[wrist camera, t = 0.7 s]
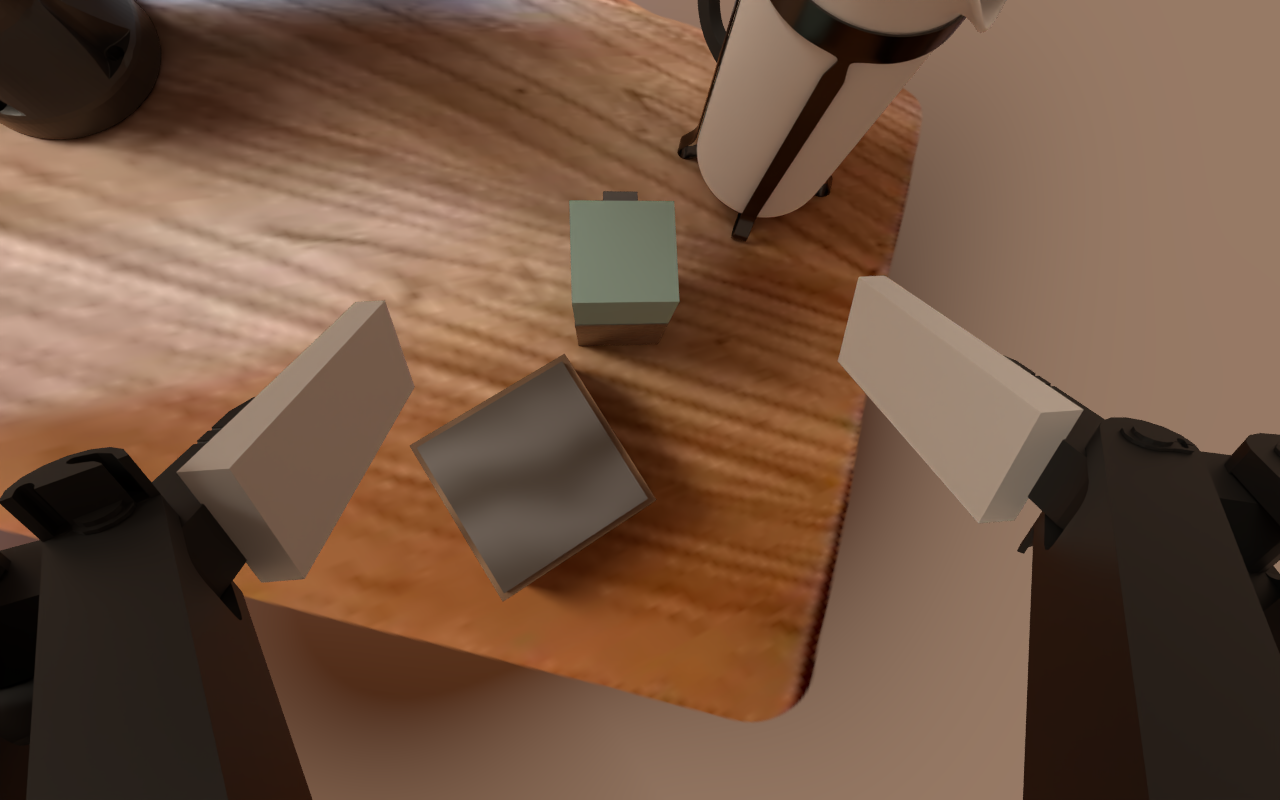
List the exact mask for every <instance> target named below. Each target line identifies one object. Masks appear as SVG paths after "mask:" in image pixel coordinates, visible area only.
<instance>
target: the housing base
mask: <svg viewBox="0 0 1280 800" xmlns="http://www.w3.org/2000/svg"><path fill="white" fill-rule="evenodd" d="M667 325H668V323H645V324H583V325H576V323H575V328H576V333H577V339H578V345H579V346H597V345H643V344H658V342H659V340H660V338H661V336H662V334H663V332H664V331H665V329H666V327H667Z"/></svg>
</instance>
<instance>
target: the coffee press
mask: <svg viewBox="0 0 1280 800" xmlns="http://www.w3.org/2000/svg"><path fill="white" fill-rule="evenodd" d="M738 2H739V4H738ZM1005 2H1006V0H740V1H739V0H736V2H735V5H734V8H733V11H732V15H731V18H730V21H729V25H728V28H727V31H725V29H724V26H723V23H722V20H721V13H720V0H698V11H699V18H700V23H701V28H702V31H703V35H704V38H705V40H706V43H707V45H708V47H709V49H710V51H711V53H712V55H713V57H714V59H715V61H716V62H717V65H716V68H715V71H714V75H713V78H712V81H711V85H710V88H709V92H708V95H707V98H706V102H705V105H704V108H703V112H702V115H701V118H700V121H699V124H698V126H697V127H696V128H695V129H694V130H693V131H691V132H689V133H688V134H686V135H684V136H682V137H681V140H680V144H679V148H678V155H679V156H680V157H681V158H684V159H692V158H695V157H697V158H698V164H699V168H700V171H701V174H702V176H703V178H704V180H705V182H706V184H707V186H708V187H709V189H710V190H711V191H712V192H713V194H714V195H715V196H716V197H717V198H718V199H719V200H720V201H722V202H723V203H724V204H725V205H727V206H728V207H730V208H732V209H733V210H735V211H738V212H739V213H738V216H737V219H736V222H735V225H734V228H733V231H732V235H731V238H733V239H737V240H740V241H744V242H746V240H747V238H748V236H749V233H750V231H751V228H752V226H753V224H754V221H755V219H756V217H765V218H766V217H777V216H781V215H785V214H788V213H790V212H793V211H795V210H797V209H798V208H800V207H801V206H803V205H804V204H805V203H807V202H808V201H809V200H810V199H811V198H812V197H813V196H814V195H816V196H819V197H824V196H827V195H829V193H830V190H831V185H832V180H833V178H832V173H833V172H834V171H835V170H836V168H837V167H838V166H839V165H840V164H841V162H842V161H843V160H844V159H845V158H846V156H847V155H848V154H849V153H850V152H851V150H852V149H853V148H854V147H855V145H856V144H857V143H858V142H859V141H860V139H861V138H862V137H863V136H864V135H865V133H866V132H867V131H868V130H869V128H870V127H871V126H872V125H873V124H874V122H875V121H876V120H877V119H878V117H879V116H880V115H881V114H882V113H883V111H884V110H885V109H886V108H887V107H888V105H889V104H890V103H891V102H892V100H893V99H894V98H895V97H896V96H897V94H898V93H899V92H900V91H901V90H902V88H903V87H904V86H905V85H906V83H907V82H908V81H909V80H910V78H911V77H912V76H913V75H914V74H915V72H916V71H917V70H918V69H919V68H920V66H921V65H922V64H923V63H924V61H925V60H926V59H927V58H928V57H929V55H930V54H931V53H932V52H933V51H934V50H935V49H936V48H938V47H939V46H940V45H941V44H943V43H944V42H945V41H946V40H947V39H948V38H949V37H950V36H951V35H952V34H953V33H954V32H955V31H956V29H957V28H958V27H959V26H960V25H961V23H962V22H963V21H964V20H965V18H967V19H968V20H970V22H971V23H972V24H973V25H974V27H975V28H976V30H977V31H978V32H980V33H982V32H985V31H987V30H988V29H989V28H990V27H991V26H992V25H993V23H994V22H995V20H996V19H997V16H998V15H999V13H1000V11H1001V10H1002V8H1003V6H1004V4H1005ZM737 5H738V7H737ZM736 8H737V10H736ZM735 12H736V14H735ZM734 15H735V17H734ZM733 18H734V20H733ZM732 21H733V23H732ZM731 25H732V27H731ZM730 28H731V30H730ZM729 31H730V33H729ZM728 34H729V36H728ZM718 67H719V69H718ZM717 70H718V72H717ZM716 74H717V75H716ZM715 77H716V79H715ZM714 80H715V82H714ZM713 83H714V85H713ZM707 104H708V105H707ZM706 106H707V108H706ZM705 110H706V112H705ZM704 113H705V115H704ZM703 116H704V118H703ZM702 119H703V122H702ZM701 123H702V125H701ZM700 126H701V129H700ZM699 129H700V132H699ZM698 132H699V137H698V143H697V144H696V145H693V146H688V145H690V144H692V143H693V142H694V141H695V140H696V138H697V135H698ZM825 182H826V184H824V183H825Z"/></svg>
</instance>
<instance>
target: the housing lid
mask: <svg viewBox="0 0 1280 800" xmlns="http://www.w3.org/2000/svg"><path fill="white" fill-rule="evenodd" d="M569 205H570V245H571V285H572V306H573V312H574V318H575V323H576V325H583V324H645V323H669V321H670V319H671V317H672V315H673V313H674V311H675V309H676V307H677V305H678V304H679V283H678V264H677V245H676V226H675V207H674V201H638V196H637V192H613V191H603V201H588V200H569Z"/></svg>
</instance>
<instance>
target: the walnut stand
mask: <svg viewBox="0 0 1280 800" xmlns="http://www.w3.org/2000/svg"><path fill="white" fill-rule="evenodd" d="M410 447H411V449H412V451H413V452H414V454H415V456H416V457H417V459H418V461H419V462H420V464H421V466H422V467H423V469H424V471H425V473H426V474H427V476H428V478H429V479H430V481H431V483H432V484H433V486H434V488H435V489H436V491H437V493H438V494H439V496H440V498H441V499H442V501H443V503H444V504H445V506H446V508H447V509H448V511H449V513H450V514H451V516H452V518H453V519H454V521H455V523H456V524H457V526H458V528H459V529H460V531H461V533H462V534H463V536H464V538H465V539H466V541H467V543H468V544H469V546H470V548H471V549H472V551H473V553H474V554H475V556H476V558H477V559H478V561H479V563H480V564H481V566H482V568H483V570H484V571H485V573H486V575H487V576H488V578H489V580H490V581H491V583H492V585H493V586H494V588H495V590H496V591H497V593H498V595H499V596H500V598H501V600H502V601H505V600H506V599H508V598H509V597H511V596H512V595H514V594H515V593H517V592H518V591H520V590H521V589H523V588H524V587H526V586H527V585H529V584H530V583H532V582H533V581H535V580H536V579H538V578H540V577H541V576H543V575H544V574H546V573H547V572H549V571H550V570H552V569H553V568H555V567H556V566H558V565H559V564H561V563H562V562H564V561H565V560H567V559H568V558H570V557H571V556H573V555H574V554H576V553H577V552H579V551H580V550H582V549H583V548H585V547H586V546H588V545H589V544H591V543H592V542H594V541H595V540H597V539H598V538H600V537H601V536H603V535H604V534H606V533H608V532H609V531H611V530H612V529H614V528H615V527H617V526H618V525H620V524H621V523H623V522H624V521H626V520H627V519H629V518H630V517H632V516H633V515H635V514H636V513H638V512H639V511H641V510H642V509H644V508H645V507H647V506H648V505H650V504H651V503H653V502H654V501H656V498H655V497H654V495H653V494H652V492H651V490H650V489H649V487H648V486H647V484H646V482H645V481H644V479H643V478H642V476H641V474H640V473H639V471H638V470H637V468H636V466H635V465H634V463H633V462H632V460H631V459H630V457H629V455H628V454H627V452H626V451H625V449H624V447H623V446H622V444H621V443H620V441H619V439H618V438H617V436H616V435H615V433H614V431H613V430H612V428H611V427H610V425H609V423H608V422H607V420H606V419H605V417H604V416H603V414H602V412H601V411H600V409H599V408H598V406H597V404H596V403H595V401H594V400H593V398H592V396H591V395H590V393H589V392H588V390H587V388H586V387H585V385H584V384H583V382H582V380H581V379H580V377H579V376H578V374H577V373H576V371H575V369H574V368H573V366H572V365H571V363H570V361H569V360H568V358H567V357H566V355H565V354H563V355H562V356H560V357H558V358H557V359H555V360H553V361H552V362H550V363H548V364H546V365H545V366H543V367H541V368H540V369H538V370H536V371H535V372H533V373H531V374H530V375H528V376H526V377H525V378H523V379H521V380H519V381H518V382H516V383H514V384H513V385H511V386H509V387H508V388H506V389H504V390H503V391H501V392H499V393H498V394H496V395H494V396H492V397H491V398H489V399H487V400H486V401H484V402H482V403H481V404H479V405H477V406H476V407H474V408H472V409H471V410H469V411H467V412H465V413H464V414H462V415H460V416H459V417H457V418H455V419H454V420H452V421H450V422H449V423H447V424H445V425H444V426H442V427H440V428H438V429H437V430H435V431H433V432H432V433H430V434H428V435H427V436H425V437H423V438H422V439H420V440H418V441H417V442H415V443H413V444H411V445H410Z"/></svg>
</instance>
